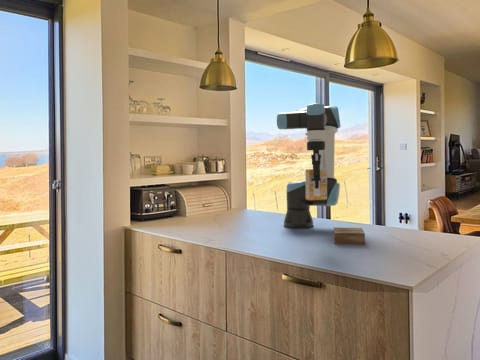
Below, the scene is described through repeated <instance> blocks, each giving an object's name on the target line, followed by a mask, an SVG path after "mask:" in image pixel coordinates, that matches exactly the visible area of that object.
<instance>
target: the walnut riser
mask: <svg viewBox="0 0 480 360" xmlns="http://www.w3.org/2000/svg"><path fill="white" fill-rule="evenodd" d="M365 236H366V233H365V232H364V230H363V228H362V227H333V243H334V245H359V246H362V245H363V246H365V245H366V240H365V238H366V237H365Z"/></svg>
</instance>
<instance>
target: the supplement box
mask: <svg viewBox="0 0 480 360" xmlns="http://www.w3.org/2000/svg"><path fill="white" fill-rule="evenodd" d="M312 179H314V169H313V168H312V169H311V168H310V169H309V168H308V169H305V180H306V200H327V169H320V196H314V192H313V181H312Z"/></svg>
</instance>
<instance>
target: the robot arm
mask: <svg viewBox="0 0 480 360" xmlns="http://www.w3.org/2000/svg"><path fill="white" fill-rule="evenodd" d="M276 115H277V116H276V126H277V129H279V130H294V129H295V130H297V129H306V133H305V136H306V140H307V142H306V150H307V151H312V154H310V155H311V156H310V157H311V158H310V159H311V165H312V169H314V179H312V181H313V192H314V196H320V169H327V200H306V179H304V180H295V181H292V182H289V183H287V184H286V191H285V192H286V213H285V216H284V220H283V227H286V228H293V229H307V228H311V227H314V220H313V217H312V214H311V211H310V206H312V207H330V206H331V207H332V206H337V204H338V202H339V197H340V188H341V183H340V182H338V179H337V178H336V177H335V145H336V144H335V143H336V142H335V139H336V137H335V134H336V133H338V131H339V129H340V128H341V120H340V113H339V108H338V107H337V106H335V105H334V106H333V105H331V106H330V105H327V106H325V105H324V104H323V103H309V104H308V105H307V106H306V107H305V108H302V109H301V108H300V109H297V110H295V111H291V112H288V111H287V112H279V113H278V114H276Z"/></svg>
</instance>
